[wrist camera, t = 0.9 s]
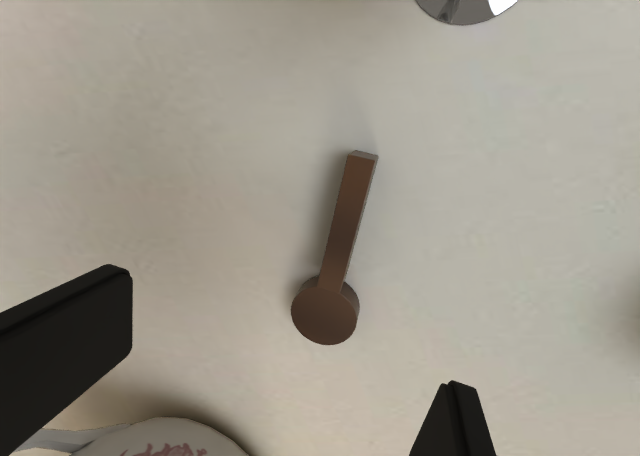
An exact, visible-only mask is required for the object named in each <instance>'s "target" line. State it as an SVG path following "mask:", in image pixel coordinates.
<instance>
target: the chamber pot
mask: <svg viewBox="0 0 640 456" xmlns="http://www.w3.org/2000/svg"><path fill="white" fill-rule="evenodd" d="M31 448H43V449H52V450H57V451H62V452H67V453H72V454H71V455H69V456H249V455H248V454H246V453H245V452H244V451H243V450H242V449H241V448H240V447H239V446H238V445H237V444H236V443H235V442H234V441H233V440H231V439H229V438H228V437H226V436H224V435H223V434H221V433H220V432H218V431H216V430H215V429H213V428H211V427H210V426H207V425H204V424H201V423H198V422H195V421H192V420H190V419H187V418H176V417H156V418H152V419H148V420H144V421H141V422H137V423H134V424H127V423H122V424H117V425H112V426H107V427H102V428H97V429H88V430H78V431H71V430H58V429H45V428H41V429H40V430H39V431H37V432H36V433H35V434H34V435H33V436H31V437H30V438H29V439H28V440H27V441H26V442H24V443H23V444H22V445H21V446H20V447H18V448H17V449H16V450H15V451H14V452H16V451H21V450H26V449H31Z"/></svg>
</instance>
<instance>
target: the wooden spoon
mask: <svg viewBox="0 0 640 456" xmlns="http://www.w3.org/2000/svg"><path fill="white" fill-rule="evenodd" d="M377 160H378V156H377V155H373V154H369V153H365V152H361V151H357V150H355V151H353V152H352V153H350V154H348V157H347V161H346V165H345V170H344V174H343V178H342V182H341V187H340V191H339V195H338V199H337V204H336V208H335V212H334V216H333V221H332V225H331V229H330V233H329V237H328V242H327V246H326V250H325V254H324V259H323V263H322V267H321V271H320V276H317V277H314V278H311V279H310V280H308V281H307V282H305V283H304V284H303V286H302V287H301V289H300V290H299V292H298V293H297V295H296V297H295V298H294V300H293V302H292V306H291V316H292V320H293V322H294V325H295V326H296V328H297V329H298V331H299V332H300V333H301V334H302V335H303V336H304V337H306V338H307V339H309V340H311V341H313V342H315V343H318V344H322V345H335V344H339V343H341V342H344V341H345V340H347V339H348V338H349V337H350V336H351V335H352V334H353V332H354V330H355V328H356V323H357V319H358V315H359V308H360V307H359V300H358V297H357V295H356V293H355V292H354V290H353V289H352V288H351V287H350V286H349V285H348V284H347V283H346V282H344V280H345V277H346V275H347V271H348V267H349V264H350V260H351V256H352V253H353V249H354V245H355V242H356V238H357V234H358V231H359V227H360V223H361V219H362V216H363V212H364V208H365V205H366V201H367V197H368V194H369V190H370V186H371V183H372V179H373V175H374V172H375V168H376V164H377Z"/></svg>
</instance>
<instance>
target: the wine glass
mask: <svg viewBox="0 0 640 456" xmlns="http://www.w3.org/2000/svg"><path fill="white" fill-rule="evenodd" d="M517 1H518V0H416V2H417V3H418V4H419V6H420V7H421V8H422V9H423V10H424V11H425V12H426V13H428V14H429V15H430V16H432V17H434V18H435V19H437V20H439V21H442V22H445V23H448V24H455V25H469V24H476V23H479V22H483V21H487V20H489V19H491V18H493V17H495V16H497V15H500V14H501V13H503V12H504V11H506V10H507V9H509V8H510V7H512V6H513V5H514V4H515V3H516V2H517Z"/></svg>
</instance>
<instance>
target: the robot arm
mask: <svg viewBox="0 0 640 456" xmlns="http://www.w3.org/2000/svg"><path fill="white" fill-rule="evenodd" d="M132 307H133V280H132V277H131V276H130V273H129V271H128V270H126V269H123V268H120V267H117V266H115V265H112V264H106V265H103V266H101V267H99V268H97V269H94V270H92V271H90V272H88V273H86V274H84V275H81V276H79V277H77V278H75V279H73V280H71V281H68V282H66V283H64V284H62V285H60V286H58V287H55V288H53V289H51V290H49V291H47V292H45V293H42V294H40V295H38V296H36V297H34V298H32V299H29V300H27V301H25V302H23V303H21V304H19V305H16V306H14V307H12V308H10V309H8V310H6V311H3V312H1V313H0V456H9V455H10V454H11V453H12V452H14V451H15V450H16V449H17V448H18V447H20V446H21V445H22V444H23V443H24V442H26V441H27V440H28V439H29V438H30V437H31V436H33V435H34V434H35V433H36V432H37V431H39V430H40V429H41V428H42V427H43V426H45V425H46V424H47V423H48V422H49V421H51V420H52V419H53V418H54V417H55V416H57V415H58V414H59V413H60V412H61V411H63V410H64V409H65V408H66V407H67V406H69V405H70V404H71V403H72V402H73V401H74V400H76V399H77V398H78V397H79V396H80V395H82V394H83V393H84V392H85V391H86V390H88V389H89V388H90V387H91V386H92V385H94V384H95V383H96V382H97V381H98V380H100V379H101V378H102V377H103V376H104V375H106V374H107V373H108V372H109V371H110V370H111V369H113V368H114V367H115V366H116V365H117V364H119V363H120V362H121V361H122V360H123V359H125V358H126V357H127V356H128V354H129V353H130V351H131V349H132ZM409 456H496V453H495V450H494V447H493V443H492V440H491V437H490V433H489V430H488V427H487V423H486V420H485V417H484V413H483V410H482V407H481V403H480V400H479V397H478V393H477V391H476V389H475V388H474V387H471V386H468V385H465V384H462V383H459V382H456V381H453V380H451V381H450V382H449V383H448V385H447V384H444V383H442V384H441V385H440V387H439V389H438V391H437V394H436V396H435V398H434V400H433V402H432V405H431V407H430V409H429V411H428V414H427V416H426V418H425V420H424V422H423V425H422V427H421V429H420V431H419V433H418V436H417V438H416V440H415V442H414V444H413V447H412V449H411V451H410V454H409Z"/></svg>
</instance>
